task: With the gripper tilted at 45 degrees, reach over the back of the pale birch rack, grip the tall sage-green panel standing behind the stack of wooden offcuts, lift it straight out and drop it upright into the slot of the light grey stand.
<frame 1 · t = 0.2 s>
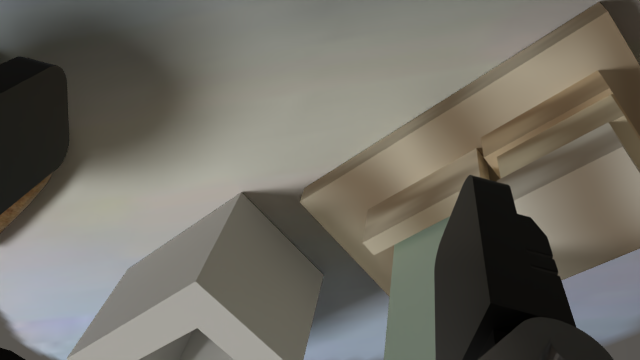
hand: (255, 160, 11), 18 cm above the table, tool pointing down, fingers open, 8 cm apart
tall sheet: (444, 210, 30), point 1 cm above the table, touching rack
rack: (474, 179, 31), on the table
offcut stack: (565, 147, 27), point 1 cm above the table, touching rack
sheet stand: (221, 272, 38), on the table
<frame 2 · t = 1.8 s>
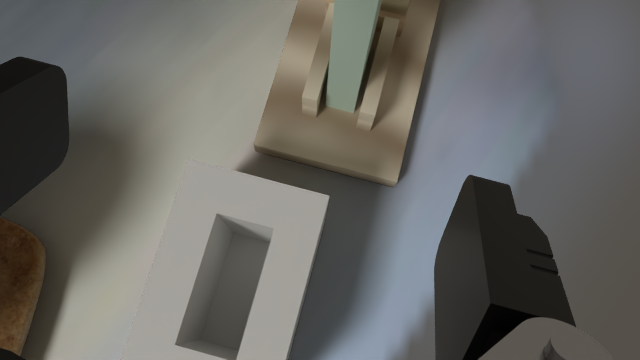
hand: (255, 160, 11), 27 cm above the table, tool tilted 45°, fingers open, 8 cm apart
tall sheet: (348, 77, 39), point 1 cm above the table, touching rack
rack: (353, 61, 40), on the table
sheet stand: (243, 292, 36), on the table
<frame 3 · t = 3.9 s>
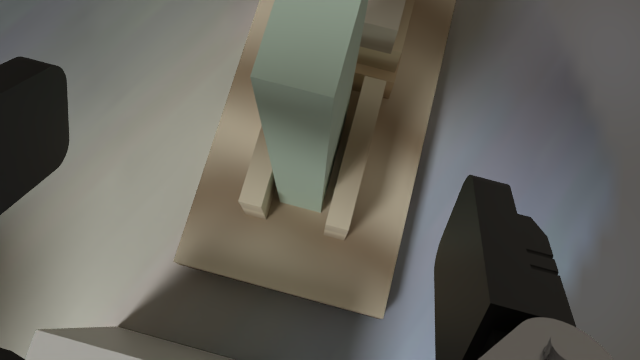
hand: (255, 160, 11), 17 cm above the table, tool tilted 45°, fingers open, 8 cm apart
tall sheet: (313, 158, 27), point 1 cm above the table, touching rack
rack: (323, 131, 29), on the table
offcut stack: (349, 33, 29), point 1 cm above the table, touching rack
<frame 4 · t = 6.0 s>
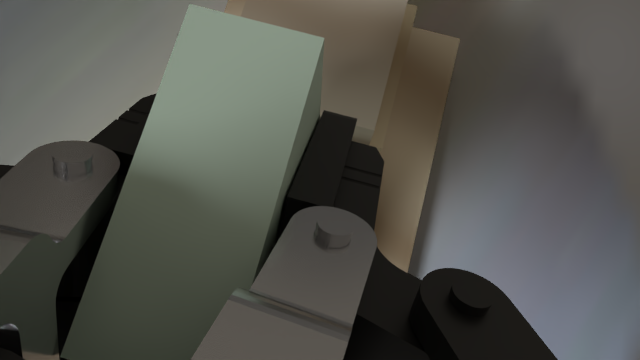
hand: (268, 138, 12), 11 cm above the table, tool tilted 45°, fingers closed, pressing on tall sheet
tall sheet: (271, 271, 21), point 1 cm above the table, touching gripper, rack
rack: (287, 227, 23), on the table
offcut stack: (319, 104, 22), point 1 cm above the table, touching rack
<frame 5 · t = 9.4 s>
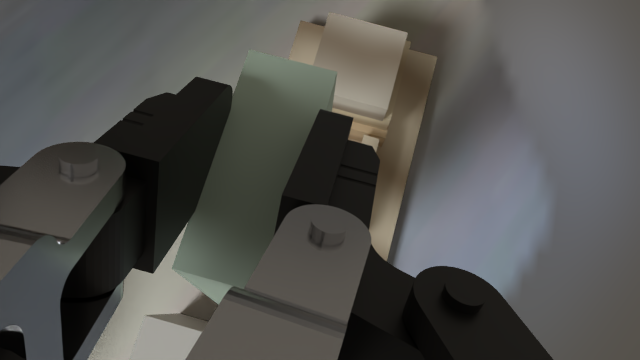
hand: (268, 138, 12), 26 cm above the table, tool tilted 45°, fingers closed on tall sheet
tall sheet: (279, 272, 25), point 12 cm above the table, tilted 6°, touching gripper
rack: (332, 169, 38), on the table
offcut stack: (352, 96, 38), point 1 cm above the table, touching rack
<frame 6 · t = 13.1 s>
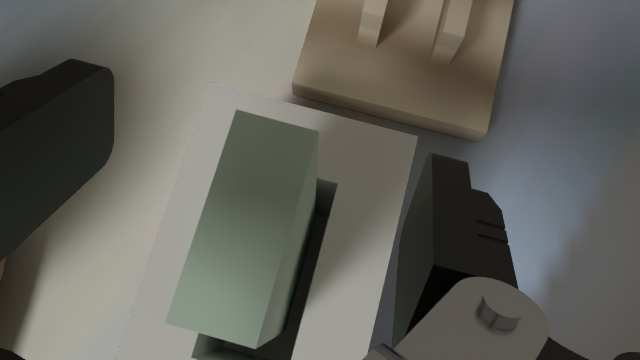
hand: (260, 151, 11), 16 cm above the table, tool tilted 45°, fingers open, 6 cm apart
tall sheet: (279, 272, 26), point 1 cm above the table, touching sheet stand
sheet stand: (279, 281, 27), on the table
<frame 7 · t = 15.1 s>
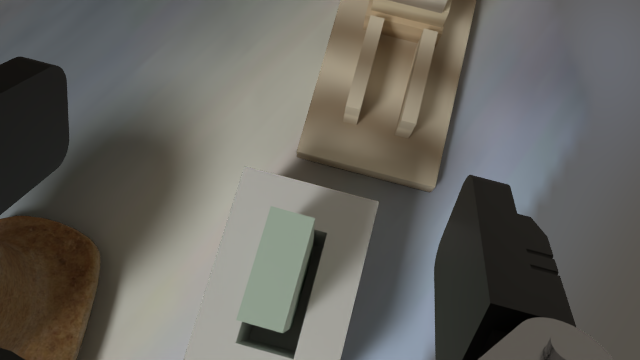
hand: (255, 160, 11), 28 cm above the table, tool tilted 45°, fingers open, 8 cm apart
tall sheet: (288, 286, 37), point 1 cm above the table, touching sheet stand
stone cup: (7, 328, 37), on the table
rack: (389, 71, 42), on the table
offcut stack: (407, 4, 42), point 1 cm above the table, touching rack
sheet stand: (287, 293, 38), on the table
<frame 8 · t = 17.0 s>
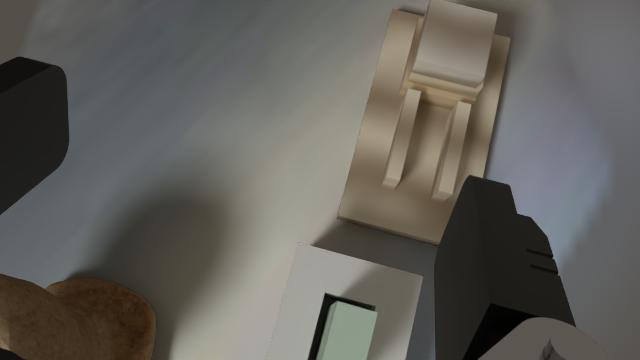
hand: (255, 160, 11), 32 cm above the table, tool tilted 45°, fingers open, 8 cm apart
tall sheet: (331, 345, 39), point 1 cm above the table, touching sheet stand
rack: (423, 134, 44), on the table
offcut stack: (440, 71, 44), point 1 cm above the table, touching rack
sheet stand: (330, 349, 40), on the table
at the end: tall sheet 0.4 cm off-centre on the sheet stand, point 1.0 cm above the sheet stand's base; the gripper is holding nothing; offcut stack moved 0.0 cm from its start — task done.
